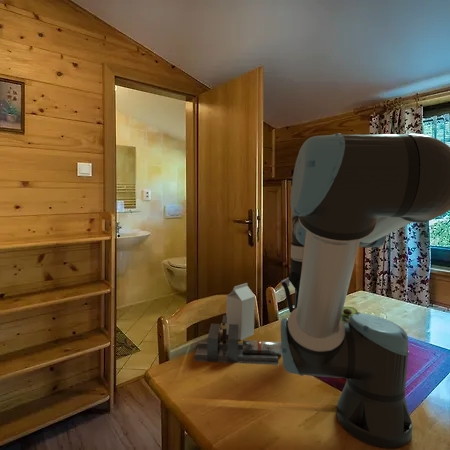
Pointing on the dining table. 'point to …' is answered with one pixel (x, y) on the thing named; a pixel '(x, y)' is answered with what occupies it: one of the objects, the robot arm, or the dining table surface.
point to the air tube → (262, 347)
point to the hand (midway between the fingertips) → (300, 334)
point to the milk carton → (241, 310)
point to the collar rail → (228, 348)
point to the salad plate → (348, 313)
